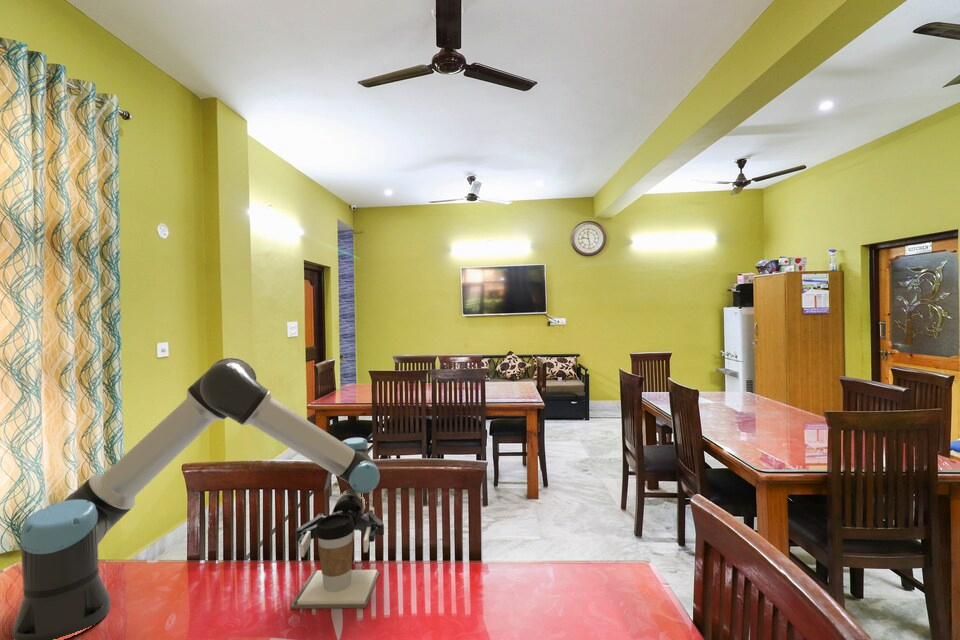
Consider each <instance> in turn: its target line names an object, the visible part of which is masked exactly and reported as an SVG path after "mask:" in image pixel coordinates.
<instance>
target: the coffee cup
mask: <svg viewBox="0 0 960 640" xmlns="http://www.w3.org/2000/svg"><path fill="white" fill-rule="evenodd" d="M354 529H355V528H354V523H353V517H352V515H350V514H334V515H330V514H329V515H326V517H324V518H322V519H320V520H319V521H318V523H317V528H316V536H317V537H316V538H317V540H318V542H317V548H318V555H319V561H320V562H319V563H320V568H321V569H320V570H322V575H323V584H324V589H325V590H327V591H329V592H337V591H341V590H344V589H345V588H347V587H348V586H349V585H350V583H351V570H352V568H353V567H352V566H353V553H354V552H353V551H354V550H353V549H354V535H353V532H354V531H355V530H354Z"/></svg>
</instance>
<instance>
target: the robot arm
mask: <svg viewBox="0 0 960 640" xmlns="http://www.w3.org/2000/svg"><path fill="white" fill-rule="evenodd" d="M226 418H229V419H230V420H233V421H234V422H236V423H238V424H240V425H242V426H245V425H251V426H252V427H254V428H256V429H257V430H259V431H261V432H262V433H264V434H266V435H268V436H269V437H270V438H273V439H274V440H276V441H278V442H279V443H281V444H283V445H284V446H286V447H287V448H289V449H291V450H293V451H294V452H296V453H298V454H299V455H301V456H302V457H304V458H306V459H308V460H310V461H311V462H312V463H314V464H316V465H318V466H320V467H321V468H323V469H325V470H326V471H328V472H330V473H331V474H333V475H335V476H336V477H337V478H339V479H340V480H341V479H342V480H344V481H346V482H347V483H349V484H350V486H351V487H352V488H351V489H348V490H345V491H344V492H343V494H342V493H341V492H340V496H339V497H338V499H337V500H336V503H335V505H334V508H333V509H332V513H330V514H329V515H334V514H350V515H352V517H353V523H354V528H355V529H354V531H359V532H362V533H363V534H364V537H363V553H368V551H369V546H370V543H373V542H375V539H376V536H377V535H379V536H384V535H385V524H384V523H383V522H382V520H381V519H380V518H378V516H377V515H376V514H375V513H374V510H373V509H370V510H368V512H366V513H364V511H365V510H366V506H365V499H364V497H363V493H368V492H369V494H371V492H372V491H373V490H374V489H376V488H377V486H378V484H379V482H380V477H381V475H380V471H379V467H378V466H377V465H376V463H375V462H374V461H373V460H372V459H371V457H370V455H369V447H368V440H367V439H366V438H363V437H350V438H349V437H348V438H347V439H344V440H342V441H341V440H339V439H338V438H336V437H335V436H333V435H331V434H330V433H328V432H327V431H325V430H324V429H323V428H320V427H319V426H318V425H316V424H314V423H312V422H311V421H310V420H307V419H306V418H305V417H304V416H302V415H300V414H298V413H296V411H294V410H292V409H291V408H289V407H287V406H285V404H282V403H281V402H280V401H278V400H276V399H275V398H273V397H272V395H271V392H270V390H269V389H268V388H266V387H264V385H262V384H260V382H258V381H257V376H256V372H255V370H254V369H253V367H251V365H250V364H249V363H247V362H246V361H244V360H242V359H240V358H236V357H235V358H234V357H226V358H222V359H219V360H217V361H216V362H215V363H213V364H212V365H211V366H210V368H209V369H208V370H207V371H205V372H204V373H203V374H202V375H201V376H200V377H198V379H197V380H196V381H194V383H193V384H192V385H190V386H189V387H188V388H187V389H186V398H185V399H184V400H183V401H181V403H180V404H179V405H178V406H176V408H175V409H174V410H173V411H171V412H169V414H168V415H167V416H166V417H165V418H163V420H161V421H160V422H159V423H158V424H157V425H156V426H155V427H154V428H153V429H152V430H150V432H148V433H147V434H146V435H145V436H144V437H143V438H142V439H141V440H140V441H138V442H137V444H135V445H133V447H132V448H131V449H130V450H129V451H128V452H127V453H126V454H124V455H123V456H122V457H121V458H120V459H119V460H118V461H116V463H114V464H113V465H112V466H111V467H110V468H109V469H108V470H107V471H106V472H105V473H99V474H93V475H91V476H90V477H89V478H88V479H87V480H86V481H84V483H82V485H80V486H79V487H78V488H77V489H76V490H75V491H73V492H72V493H71V494H69V495H68V496H67V497H66V498H65V499H64V500H63V501H60V502H59V501H58V502H55V503H52V504H50V505H48V506H46V508H40V509H38V510H37V511H35V512H33V513H32V514H30V515H29V516H28V517H27V518H26V519H25V521H24V522H23V523H22V525H21V534H20V536H19V537H20V539H19V543H20V547H21V549H20V552H21V567H22V572H21V573H22V587H23V588H22V589H23V598H22V600H21V603H20V606H19V610H18V612H17V615H16V618H15V621H14V623H13V626H12V639H13V638H14V639H15V640H53V639H58V638H60V637H63V636H66V635H69V634H72V633H75V632H77V631H80V630H83V629H85V628H88V627H90V626H93V625H94V624H96V623H98V622H99V621H100V620H101V621H102V620H104V619H105V618H106V617H105V616H107V615H108V614H109V613H110V611H111V598H110V597H111V596H110V594H109V592H108V590H107V588H106V586H105V584H104V582H103V580H102V578H101V577H100V572H99V544H100V543H101V542H102V541H103V539H104V537H105V536H106V534H107V533H108V532H109V531H110V530H111V529H112V528H113V527H114V526H115V525H117V523H118V522H119V521H120V520H121V519H122V518H123V517H124V516H125V515H127V513H128V512H130V510H132V509H133V507H135V505H136V496H137V495H138V494H139V493H140V492H141V491H142V490H143V489H144V488H145V487H147V485H149V484H150V483H151V482H152V481H153V480H154V479H155V478H156V477H157V476H158V475H159V474H160V473H161V472H162V471H163V470H164V469H165V468H166V467H167V466H169V464H171V463H172V462H173V461H174V460H175V459H176V458H177V457H178V456H179V455H181V453H182V452H183V451H184V450H185V449H186V448H187V447H188V446H189V445H190V444H192V443H193V442H194V441H195V440H196V439H197V438H198V437H199V436H200V435H201V434H202V433H203V432H204V431H205V430H206V429H207V428H209V426H211V425H212V424H213V423H214V422H215V421H225V420H226ZM361 493H362V497H361ZM361 499H362V508H361ZM326 516H327V515H326ZM326 516H325V515H324V513H322V512H321V513H320V512H319V513H318V514H317V516H315V517H313V519H310V520H309V521H308V522H306V523H304V524H302V525H301V526H299V527H297V528H296V529H295V541H296V542H299V557H300V558H305V556H306V553H307V551H308V549H309V547H310V545H311V543H312V540H314V539H316V538H318V537H317V536H316V528H317V523H318V521H319V520H320V519H322V518H324V517H326ZM109 610H110V611H109ZM108 612H109V613H108ZM107 613H108V614H107ZM104 617H105V618H104ZM103 618H104V619H103ZM101 621H100V622H101ZM100 622H99V623H100ZM99 623H98V624H99ZM96 625H97V624H96ZM93 627H94V626H93Z"/></svg>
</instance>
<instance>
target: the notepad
mask: <svg viewBox="0 0 960 640" xmlns="http://www.w3.org/2000/svg"><path fill="white" fill-rule="evenodd" d="M379 575H380V571H378V569H351V583H350V585H349V586H348V587H347V588H345V589H344V590H341V591H337V592H329V591H327V590H325V589H324V584H323V575H322V569H319V570H316V571H315V570H314V571H312V572H311V574H310V575H309V577H308V578H307V580H306V581H305V583H304V584H303V586H302V587H301V589H300V591H299V592H298V593H297V595H296V596H295V598H294V600H293V602H292V604H291V605H290V609H291V610H293V609H295V610H297V609H303V610H304V609H366V608H367V605H368V603H369V601H370V599H371V596H372V593H373V590H374V589H375V586H376V584H375V583H377V581H378V579H377V578H379Z"/></svg>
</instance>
